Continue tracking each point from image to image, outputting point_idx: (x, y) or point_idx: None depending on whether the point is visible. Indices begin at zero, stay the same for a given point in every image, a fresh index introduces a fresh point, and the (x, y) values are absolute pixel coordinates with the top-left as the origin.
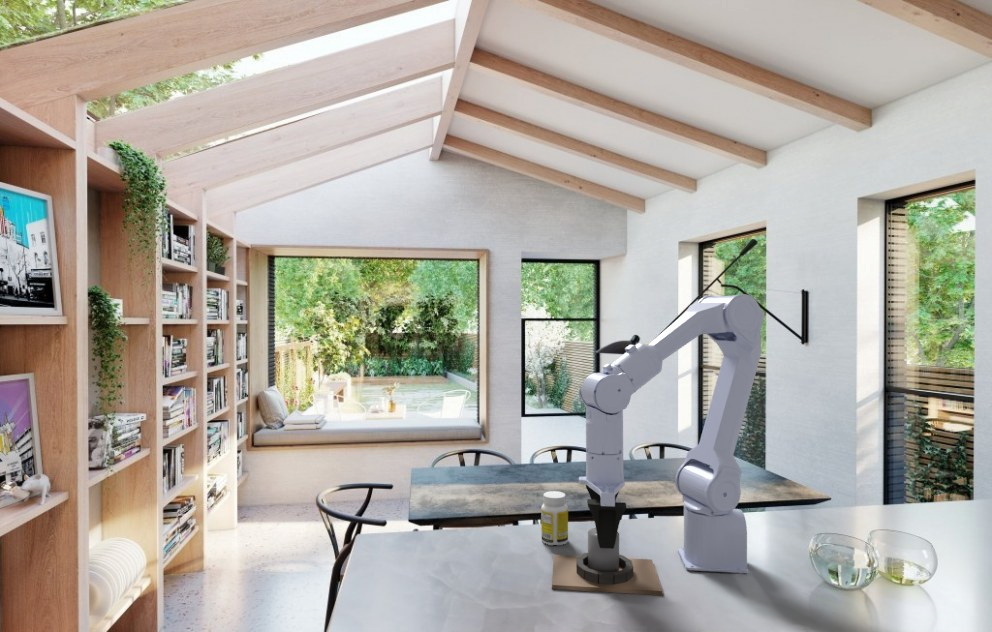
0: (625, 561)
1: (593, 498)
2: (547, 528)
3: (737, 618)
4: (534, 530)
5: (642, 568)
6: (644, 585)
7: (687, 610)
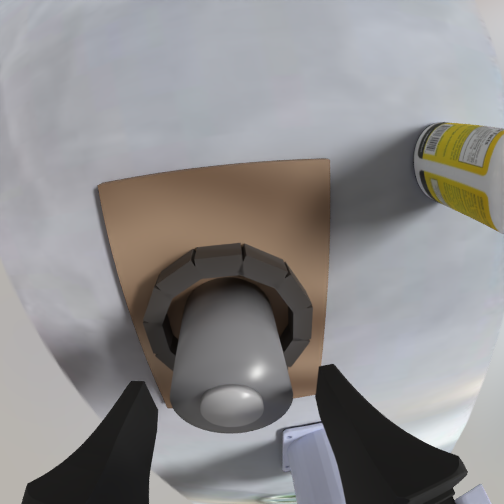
0: None
1: (366, 462)
2: (450, 143)
3: None
4: (488, 110)
5: None
6: None
7: None
